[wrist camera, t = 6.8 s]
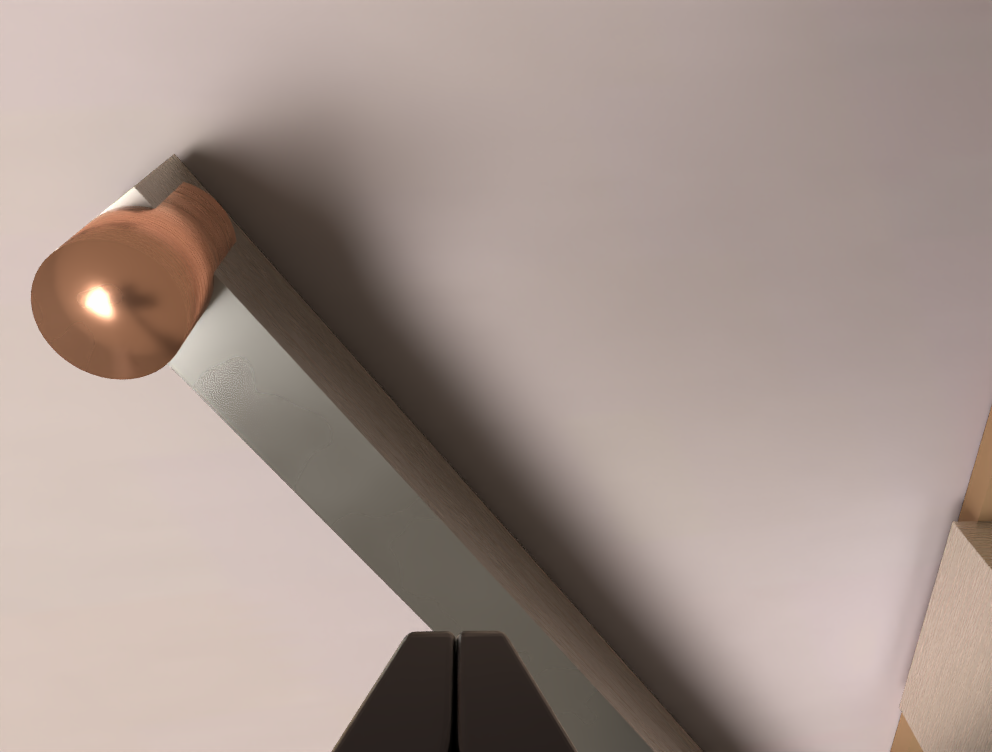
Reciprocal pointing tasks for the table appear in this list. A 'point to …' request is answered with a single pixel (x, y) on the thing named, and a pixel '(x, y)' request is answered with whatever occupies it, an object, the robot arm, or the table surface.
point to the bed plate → (983, 502)
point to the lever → (326, 437)
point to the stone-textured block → (955, 649)
